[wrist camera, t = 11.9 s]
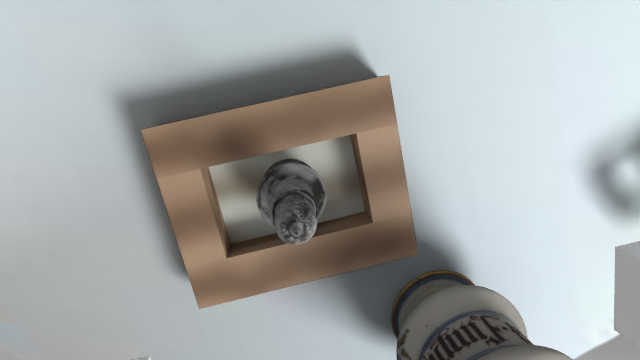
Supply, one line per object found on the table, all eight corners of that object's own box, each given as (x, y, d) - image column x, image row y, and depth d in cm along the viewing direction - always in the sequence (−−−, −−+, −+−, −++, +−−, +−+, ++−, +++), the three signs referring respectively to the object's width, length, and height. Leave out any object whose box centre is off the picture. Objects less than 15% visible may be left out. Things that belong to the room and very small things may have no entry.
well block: (154, 125, 33) (140, 129, 30) (378, 76, 34) (389, 75, 31) (206, 289, 37) (199, 309, 34) (405, 239, 38) (418, 254, 35)
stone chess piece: (244, 189, 35) (229, 239, 23) (287, 142, 35) (294, 168, 23) (292, 229, 36) (300, 295, 25) (335, 184, 36) (363, 229, 24)
